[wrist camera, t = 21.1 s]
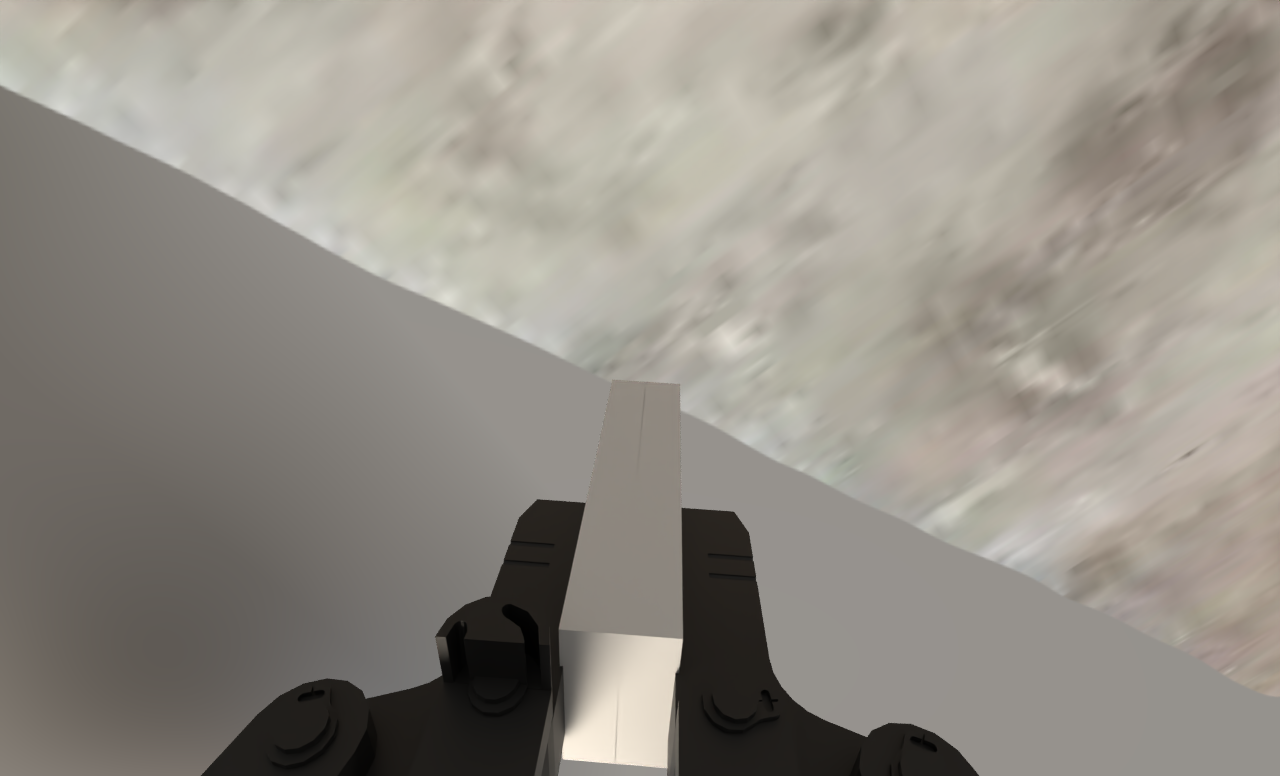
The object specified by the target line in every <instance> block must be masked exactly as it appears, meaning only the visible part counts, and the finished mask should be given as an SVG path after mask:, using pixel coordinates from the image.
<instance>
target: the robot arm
mask: <svg viewBox="0 0 1280 776" xmlns="http://www.w3.org/2000/svg"><path fill="white" fill-rule="evenodd" d="M680 434H681V431H680V384H668V383H653V382H638V381H623V380H612V384H611V389H610V394H609V399H608V403H607V408H606V412H605V417H604V421H603V426H602V431H601V435H600V440H599V444H598V449H597V454H596V458H595V463H594V468H593V472H592V477H591V482H590V486H589V491H588V495H587V500H586V503H580V502H566V501H552V500H537V501H535V502H534V503H533V504H532V506H530V507H529V508H528V509H527V510H526V511H525V512H524V513H523V515H521V517H519V519H518V522H517V525H516V528H515V531H514V533H513V536H512V539H511V544H510V545H509V547H508V550H507V552H506V555H505V558H504V563H503V565H502V566H501V569H500V572H499V575H498V577H497V580H496V583H495V586H494V588H493V591H492V594H491V597H485V598H482V599H480V600H477V601H474V602H472V603H469V604H466V605H464V606H463V607H462V608H461V609H459V610H458V611H457V612H455V613H454V614H453V615H451V616H450V617H449V618H448V619H447V620H446V621H445V623H444V624H443V626H442V627H441V629H440V630H439V632H438V633H437V635H436V636H435V638H436V643H437V648H438V654H439V659H440V665H441V669H442V676H440V677H439V678H437V679H435V680H433V681H431V682H430V683H427V684H424V685H421V686H418V687H415V688H411V689H407V690H403V691H399V692H394V693H389V694H385V695H381V696H377V697H372V698H368V699H365V697H364V694H363V691H362V690H360V689H359V688H357V687H356V686H354V685H353V684H351V683H350V682H348V681H343V680H335V679H323V680H318V681H314V682H309V683H305V684H302V685H300V686H298V687H296V688H294V689H292V690H290V691H288V692H286V693H284V694H282V695H280V696H279V697H278V698H276V699H275V700H274V701H273V702H272V703H271V704H269V705H268V706H267V707H266V708H265V709H264V710H262V711H261V712H260V713H259V714H258V715H257V716H256V717H255V718H254V719H253V720H252V721H251V722H250V723H249V724H248V725H247V726H246V728H245V729H244V730H243V731H242V732H241V733H240V734H239V735H238V736H237V737H236V738H235V739H234V741H233V742H232V743H231V744H230V745H229V746H228V747H227V748H226V749H225V750H224V751H223V752H222V754H221V755H220V756H219V757H218V758H217V759H216V760H215V761H214V762H213V763H212V764H211V765H210V766H209V768H208V769H207V770H206V771H205V772H204V773H203V774H202V775H201V776H558V772H559V765H560V760H561V754H562V748H563V759H567V760H578V761H590V762H603V763H614V764H625V765H637V766H649V767H661V768H667V776H979V775H978V774H977V773H976V771H975V770H974V769H973V768H972V766H971V765H970V764H969V763H968V762H967V761H966V759H965V758H964V757H963V756H962V755H961V753H960V752H959V751H958V750H957V749H955V748H954V747H953V746H951V745H950V744H949V743H947V742H946V741H945V740H943V739H942V738H940V737H939V736H938V735H936V734H935V733H933V732H930V731H927V730H925V729H922V728H920V727H917V726H914V725H912V724H897V723H888V724H886V725H884V726H882V727H879V728H877V729H874V730H872V731H871V733H870V734H869V735H868V737H865V736H862V735H860V734H857V733H855V732H852V731H850V730H847V729H845V728H843V727H840V726H838V725H835V724H833V723H830V722H828V721H825V720H823V719H821V718H819V717H817V716H815V715H813V714H812V713H809V712H807V711H806V710H805V709H804V708H803V707H801V706H800V705H799V704H797V703H796V702H795V701H794V700H792V698H791V697H790V696H789V695H788V694H787V693H786V691H785V690H784V689H783V688H782V687H781V685H780V683H779V682H778V680H777V678H776V677H775V675H774V673H773V670H772V666H771V663H770V660H769V654H768V648H767V642H766V636H765V630H764V623H763V617H762V611H761V605H760V598H759V592H758V586H757V582H756V573H755V568H754V562H753V555H752V549H751V543H750V536H749V532H748V531H747V530H746V528H745V527H744V525H743V524H742V522H741V521H740V520H739V518H738V517H737V515H736V514H735V513H734V512H730V511H716V510H702V509H689V508H681V435H680Z"/></svg>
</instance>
